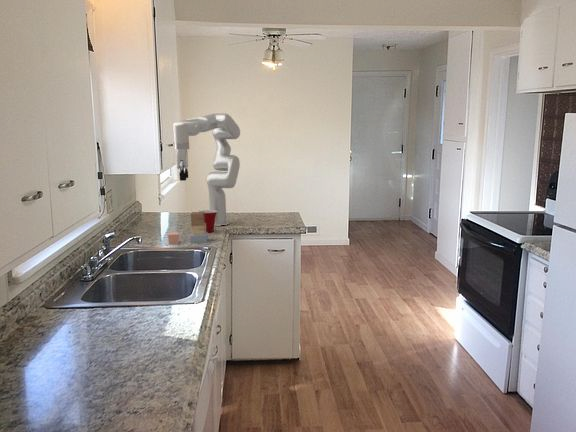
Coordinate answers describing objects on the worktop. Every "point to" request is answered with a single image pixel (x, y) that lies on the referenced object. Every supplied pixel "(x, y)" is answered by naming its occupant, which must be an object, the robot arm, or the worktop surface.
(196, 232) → the oak block
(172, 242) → the terracotta block
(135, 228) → the worktop surface
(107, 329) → the worktop surface
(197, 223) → the walnut cube
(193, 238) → the base block
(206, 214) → the plastic cup
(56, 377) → the worktop surface
